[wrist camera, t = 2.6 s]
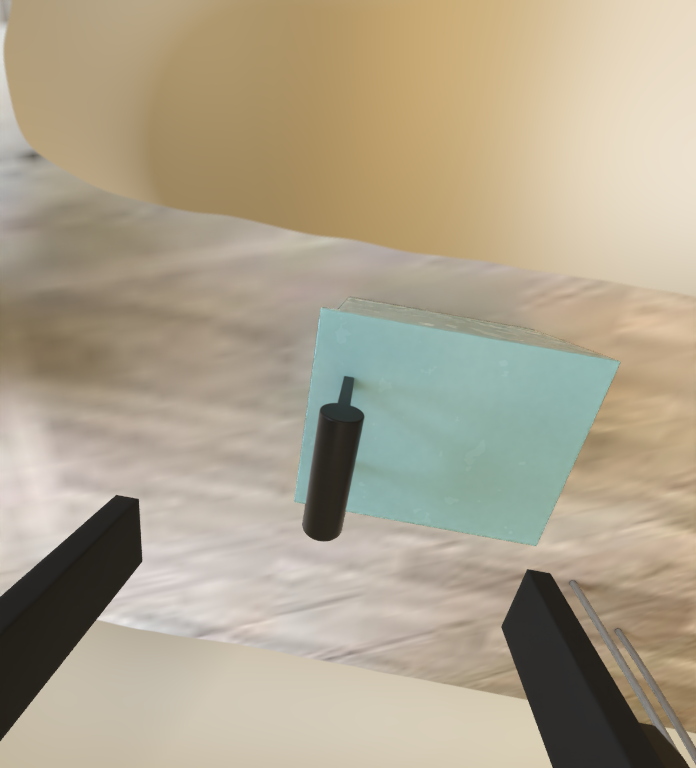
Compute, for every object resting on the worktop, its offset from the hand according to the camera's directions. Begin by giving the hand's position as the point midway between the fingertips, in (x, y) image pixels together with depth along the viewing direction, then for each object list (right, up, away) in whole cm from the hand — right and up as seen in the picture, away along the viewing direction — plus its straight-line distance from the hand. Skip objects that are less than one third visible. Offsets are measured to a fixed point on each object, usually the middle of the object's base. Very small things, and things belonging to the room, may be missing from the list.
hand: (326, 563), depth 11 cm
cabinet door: (+7, +3, +12) cm, 14 cm away
